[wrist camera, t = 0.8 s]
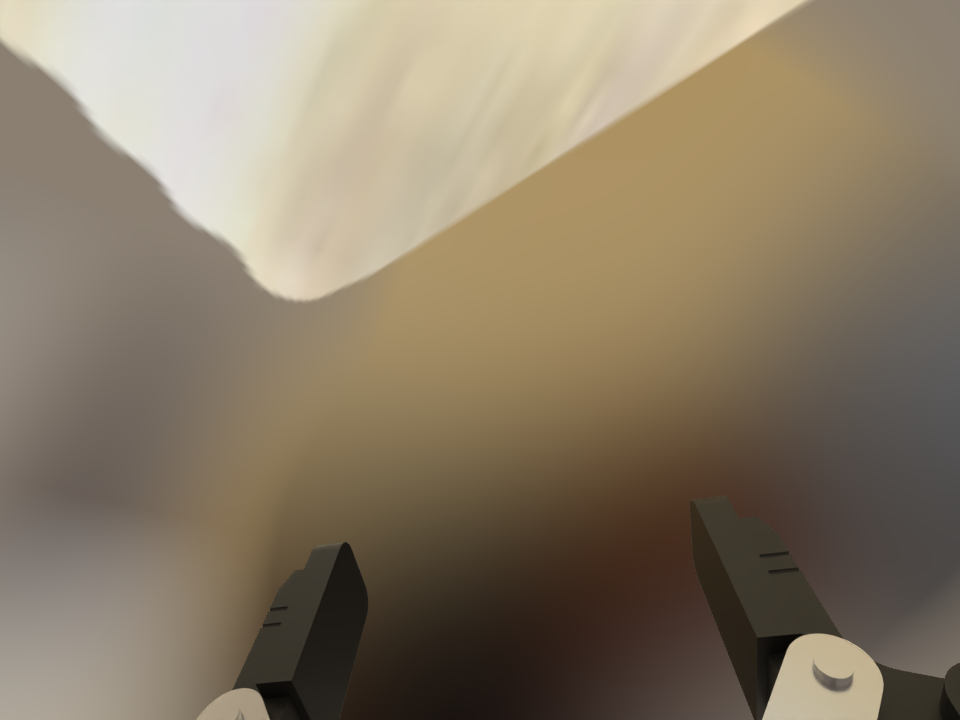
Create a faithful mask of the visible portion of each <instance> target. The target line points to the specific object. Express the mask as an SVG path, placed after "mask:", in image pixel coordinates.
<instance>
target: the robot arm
mask: <svg viewBox="0 0 960 720" xmlns="http://www.w3.org/2000/svg"><path fill="white" fill-rule="evenodd" d="M690 521H691V539H692V554H693V560H694V566H695V570H696V573H697V577H698V580H699V582H700V585H701V587H702V590H703V592H704V594H705V597H706V600H707V602H708V605H709V607H710V610H711V612H712V615H713V617H714V620H715V622H716V625H717V627H718V630H719V633H720V635H721V637H722V640H723V643H724V645H725V647H726V650H727V652H728V655H729V658H730V660H731V663H732V665H733V668H734V670H735V673H736V675H737V677H738V680H739V683H740V685H741V688H742V690H743V693H744V695H745V698H746V700H747V703H748V705H749V707H750V710H751V713H752V715H753V718H754V720H960V663H958V664H956V665H954V666H953V667H951V668H950V669H949V670H948V672H947V674H946V676H945V679H944V678H937V677H933V676H927V675H922V674H917V673H911V672H906V671H901V670H897V669H893V668H889V667H887V666H884V665H881V664H879V663H877V662H874V661H873V660H872V659H871V657H870V656H868V655H867V654H866V653H865V652H864V651H863V650H862V649H860V648H859V647H857V646H856V645H854V644H852V643H850V642H849V641H847V640H844V639H843V637H842V636H841V634H840V633H839V632H838V630H837V628H836V627H835V625H834V624H833V622H832V620H831V619H830V617H829V616H828V614H827V612H826V611H825V609H824V608H823V606H822V604H821V603H820V601H819V600H818V598H817V596H816V595H815V593H814V591H813V590H812V588H811V587H810V585H809V584H808V582H807V580H806V579H805V577H804V575H803V574H802V572H800V571H799V568H798V566H797V564H796V563H795V561H794V559H793V558H792V556H791V555H789V551H788V550H787V548H786V547H785V545H784V543H783V542H782V540H781V539H780V537H779V535H778V534H777V532H776V531H775V530H773V529H772V528H771V527H769V526H768V525H767V524H765V523H764V522H763V521H761V520H760V519H759V518H757V517H756V516H755V517H747V518H738V516H737V514H736V512H735V510H734V509H733V507H732V505H731V503H730V502H729V500H728V498H727V497H726V496H719V497H711V498H702V499H694V500H691V501H690ZM367 613H368V595H367V589H366V586H365V583H364V581H363V578H362V575H361V573H360V570H359V567H358V565H357V562H356V559H355V557H354V554H353V551H352V549H351V547H350V545H349V544H348V543H347V542H343V543H335V544H327V545H319V546H315V548H314V549H313V550H312V552H311V554H310V557H309V559H308V562H307V564H306V566H305V568H304V570H297V571H294V573H293V574H292V575H291V576H290V577H289V579H287V580H286V582H285V583H284V584H283V585H282V586H281V587H280V588H279V590H278V592H277V595H276V597H275V599H274V601H273V603H272V605H271V607H270V612H268V614H267V616H266V618H265V620H264V623H263V628H261V629H260V631H259V633H258V636H257V638H256V640H255V642H254V644H253V647H252V649H251V651H250V653H249V655H248V657H247V660H246V662H245V664H244V666H243V669H242V670H241V673H240V675H239V677H238V679H237V681H236V683H235V686H234V688H233V690H232V691H230V692H227V693H225V694H224V695H222V696H220V697H219V698H217V699H216V700H214V701H213V702H212V703H211V704H210V705H208V706H207V708H206V709H205V710H204V711H203V712H202V713H201V714H200V716H199V717H198V718H197V720H339V718H340V714H341V711H342V707H343V703H344V700H345V696H346V692H347V688H348V684H349V681H350V677H351V673H352V670H353V666H354V662H355V658H356V655H357V651H358V647H359V644H360V640H361V636H362V632H363V629H364V624H365V621H366V617H367Z"/></svg>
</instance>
